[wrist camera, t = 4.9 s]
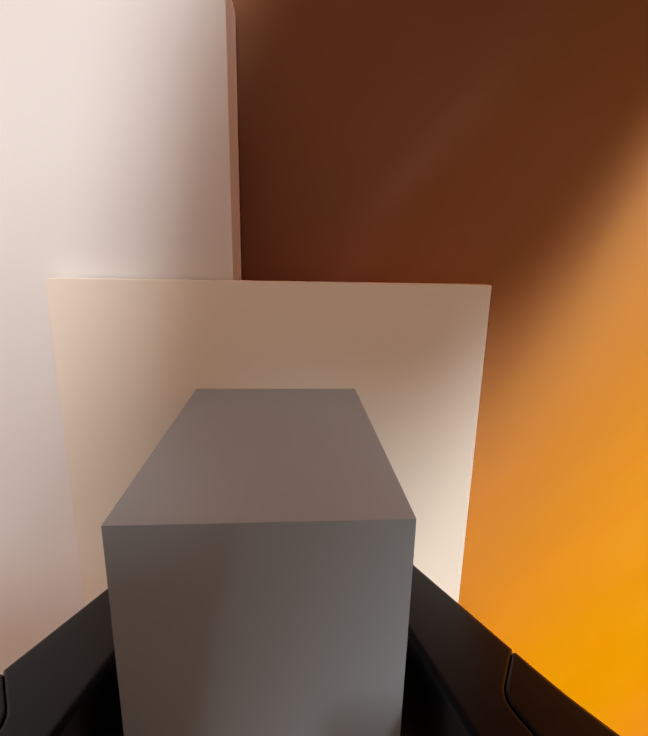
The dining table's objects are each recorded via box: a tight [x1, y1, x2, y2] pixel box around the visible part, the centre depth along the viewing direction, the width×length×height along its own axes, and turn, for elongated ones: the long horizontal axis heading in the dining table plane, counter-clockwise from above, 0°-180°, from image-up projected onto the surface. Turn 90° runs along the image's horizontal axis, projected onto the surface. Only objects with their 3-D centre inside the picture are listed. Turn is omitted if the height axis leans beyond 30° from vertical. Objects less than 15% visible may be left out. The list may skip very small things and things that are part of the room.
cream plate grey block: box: [45, 277, 492, 736], centre depth 8 cm, size 8×10×5 cm
